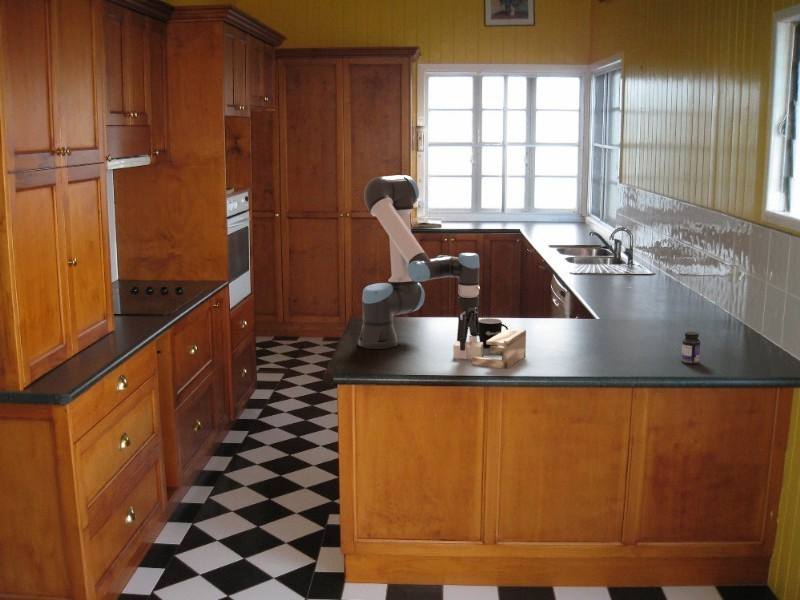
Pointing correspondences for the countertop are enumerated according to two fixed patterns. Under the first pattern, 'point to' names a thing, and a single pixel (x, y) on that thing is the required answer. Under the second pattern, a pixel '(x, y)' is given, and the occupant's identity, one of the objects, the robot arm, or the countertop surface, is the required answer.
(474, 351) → the cream white block
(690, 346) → the pill bottle
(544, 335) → the countertop surface
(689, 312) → the countertop surface
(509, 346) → the shelf
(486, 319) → the mug
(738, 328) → the countertop surface
